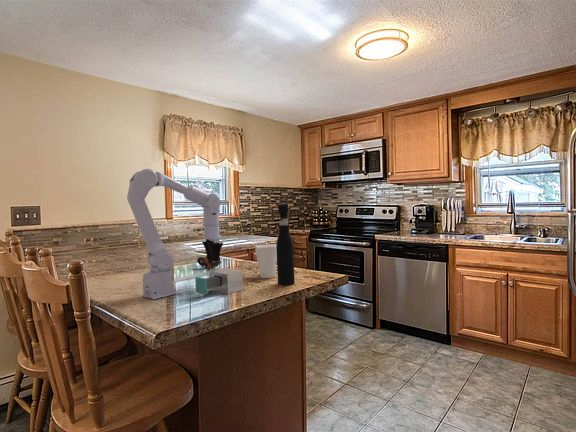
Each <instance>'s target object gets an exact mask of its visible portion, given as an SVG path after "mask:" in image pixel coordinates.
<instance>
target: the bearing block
mask: <svg viewBox="0 0 576 432" xmlns="http://www.w3.org/2000/svg"><path fill="white" fill-rule="evenodd" d="M208 276H209V277H208V278H211V277H215V276H222V286H218V287H215V288H211V289H209V291H211V292H217V293H221V294H225V295H229V294H232V293H236V292H240V291H242V290H244V284H243V283H244V282H243V270H239V269H232V268H225V267H224V268H218V269H214V270H208Z"/></svg>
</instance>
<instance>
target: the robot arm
mask: <svg viewBox="0 0 576 432" xmlns="http://www.w3.org/2000/svg"><path fill="white" fill-rule="evenodd" d="M155 187H164V188H166V189H169V190H171V191H174V192H177V193H179V194H181V195H183V196H184V199H186V200H188V201H189V202H192V203H194V204H197V205H199V206H201V207H202V208H203V214H202V215H203V232H204V233H203V235H204V236H203V239H204V240H205V241H202V243H201V244H202V245H203V247H204V249H205V253H206V255H207V258H208V259H212V261H213V262H215V261H218V260H219V256H221V255H220V254H221V250H222V247H223V245H224V242H220V239H222V238H223V235H220V220H219V219H220V218H219V217H220V216H219V213H220V212H219V208H220V206H221V204H222V200H221V199H220V197H219V195H217V194H215V193H210V191H209V190H205V189H202V188H199V185H197V184H189V185H185V184H183V183H181V182H179V181H177V180H176V179H173V178H171V177H170V176H168V175H165V174H164V173H162V172H159V171H155V170H154V169H151V168H144V169H142V170H140V171H139V170H138V171H136V172H135V173H133V175H132V177H131V178H130V180H129V186H128V191H127V195H126V196H127V197H126V199H127V202H128V204H129V206H130V210H131V211H132V214H133V216H134V219H135V222H136V224H137V226H138V229H139V232H140V233H141V236H142V238H143V240H144V244H145V245H146V252H147V262H148V264H149V265H150V266H151V267H150V269H149V271H148V272H145V273H144V274H143V275H142V291H143V292H142V293H143V294H142V296H141V297H143V296H145V297H144V298H146V297H148V298H147V299H150V298H151V300H158V299H161V297H162V298H165V297H169V296H174V295H178V294H179V292H178V291H176V290H174V282H173V267H172V266H173V264H174V262H175V260H174V256H173V254H171V253H170V252H169V251H168V249H167V246H166V245H165V244H164V243H163V242H162V239H161V236H160V234H159V232H158V229H157V227H156V224H155V222H154V219H153V217H152V214H151V212H150V210H149V207H148V204H147V202H146V198H147V195H148V194H149V192H150V191H151V190H152V189H153V188H155ZM157 298H158V299H157Z"/></svg>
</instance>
